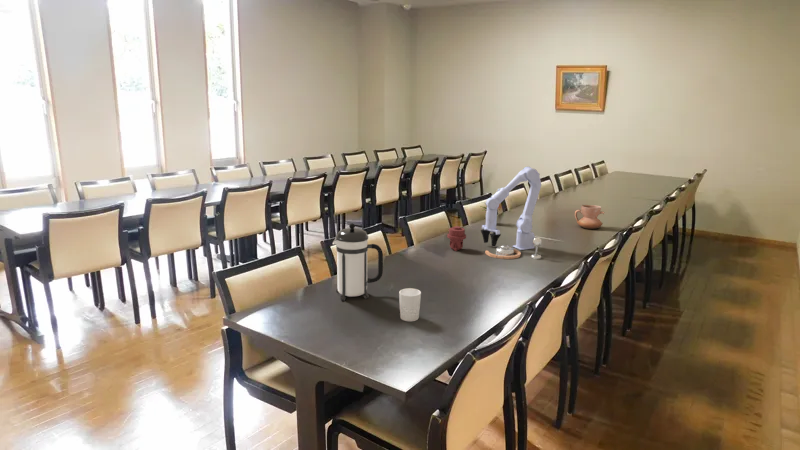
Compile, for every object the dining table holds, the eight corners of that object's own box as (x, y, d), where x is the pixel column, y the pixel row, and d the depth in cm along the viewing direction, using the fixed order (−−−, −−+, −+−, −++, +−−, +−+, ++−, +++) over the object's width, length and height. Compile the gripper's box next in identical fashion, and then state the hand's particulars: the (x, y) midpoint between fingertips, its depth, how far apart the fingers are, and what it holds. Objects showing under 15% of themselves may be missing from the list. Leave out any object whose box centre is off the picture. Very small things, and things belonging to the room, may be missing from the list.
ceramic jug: (604, 227, 333) (606, 205, 330) (601, 231, 321) (603, 209, 318) (575, 224, 341) (577, 203, 338) (571, 228, 329) (573, 206, 326)
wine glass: (530, 256, 266) (532, 235, 264) (540, 256, 265) (542, 236, 263) (531, 258, 262) (532, 238, 259) (541, 259, 261) (542, 239, 258)
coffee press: (358, 305, 198) (358, 230, 191) (326, 297, 206) (325, 224, 199) (383, 292, 212) (384, 221, 205) (352, 284, 220) (352, 216, 213)
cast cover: (507, 251, 274) (507, 242, 273) (516, 256, 266) (517, 247, 264) (492, 253, 270) (493, 244, 269) (501, 258, 262) (502, 248, 261)
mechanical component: (466, 247, 280) (464, 252, 271) (447, 246, 282) (445, 251, 272) (467, 225, 277) (465, 229, 268) (448, 224, 279) (446, 228, 270)
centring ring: (511, 249, 277) (511, 247, 277) (527, 256, 265) (527, 254, 265) (483, 252, 270) (483, 250, 270) (498, 260, 258) (498, 258, 258)
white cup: (397, 313, 191) (398, 288, 189) (418, 313, 192) (419, 288, 189) (399, 322, 183) (400, 296, 181) (421, 322, 184) (422, 295, 182)
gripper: (477, 217, 282) (476, 241, 285) (492, 223, 269) (491, 248, 272) (488, 216, 285) (487, 240, 288) (503, 222, 272) (502, 247, 275)
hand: (489, 244), depth 280 cm, fingers open, 7 cm apart
